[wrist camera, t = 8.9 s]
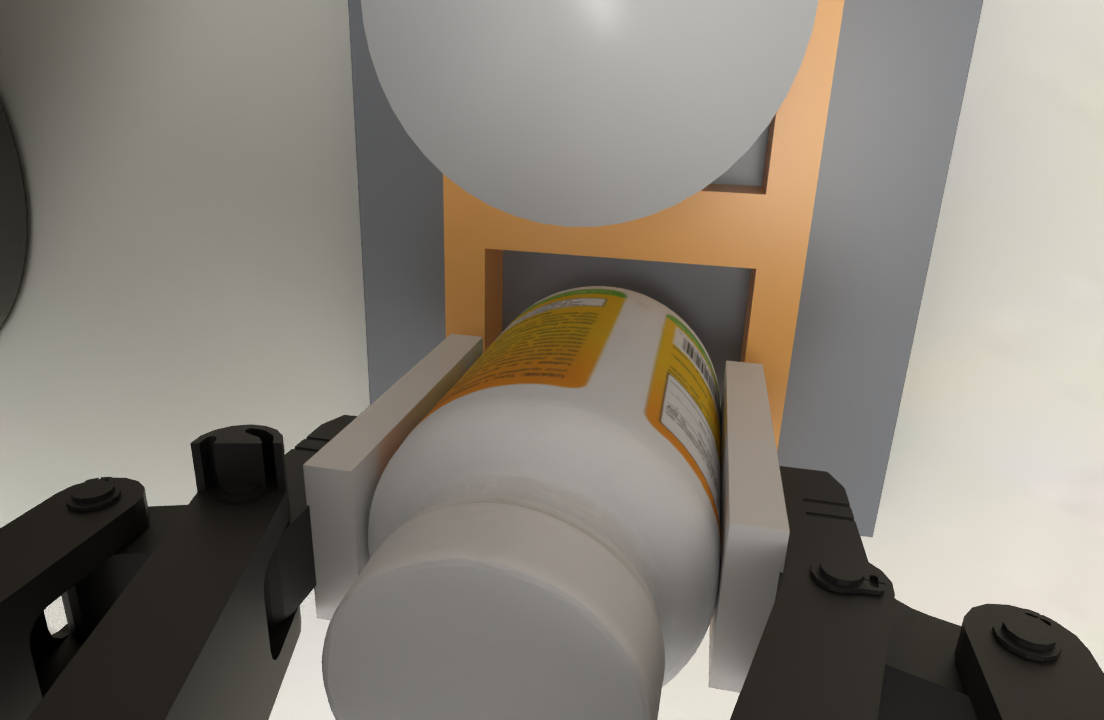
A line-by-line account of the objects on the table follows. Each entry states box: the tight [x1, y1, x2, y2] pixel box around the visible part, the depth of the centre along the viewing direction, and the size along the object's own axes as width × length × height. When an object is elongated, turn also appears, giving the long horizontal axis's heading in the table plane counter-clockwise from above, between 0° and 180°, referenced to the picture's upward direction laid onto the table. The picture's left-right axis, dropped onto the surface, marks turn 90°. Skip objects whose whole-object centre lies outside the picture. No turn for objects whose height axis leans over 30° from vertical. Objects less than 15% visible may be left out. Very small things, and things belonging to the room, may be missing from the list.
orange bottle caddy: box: [348, 0, 983, 537], centre depth 15 cm, size 14×16×9 cm
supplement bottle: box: [322, 286, 721, 720], centre depth 13 cm, size 5×5×10 cm
